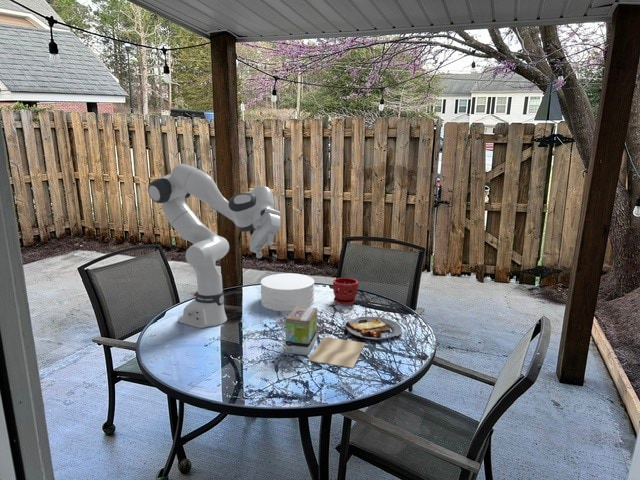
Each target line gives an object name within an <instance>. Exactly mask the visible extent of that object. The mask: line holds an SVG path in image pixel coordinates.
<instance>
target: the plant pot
mask: <svg viewBox="0 0 640 480" xmlns="http://www.w3.org/2000/svg"><path fill="white" fill-rule="evenodd" d="M332 286H333V287H332V291H333V295H334V298H333V301H334V303H336V304H338V305H341V306H351V305H354V303H356V301H357V299H356V297H357V294H358V290H359V281H358V280H357V279H355V278H351V277H350V278H349V277H338V278H335V279H333V281H332Z"/></svg>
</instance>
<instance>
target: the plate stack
mask: <svg viewBox="0 0 640 480" xmlns="http://www.w3.org/2000/svg"><path fill="white" fill-rule="evenodd" d="M260 303H261V305H262V307H263V308H266V309H269V310H271V311H276V312H277V311H278V312H291V311H292V310H293V309H294V307H295V306H300V307H310V308H311V307H312V306H313V305H314V304H315V280H314V278H313V277H311V276H308V275H305V274H300V273H288V272H287V273H284V272H283V273H277V274H270V275H268V276H265V277H263V278H262V279H261V280H260Z"/></svg>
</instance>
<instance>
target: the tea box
mask: <svg viewBox="0 0 640 480" xmlns="http://www.w3.org/2000/svg"><path fill="white" fill-rule="evenodd" d="M317 324H318V308H316V307H311V306H310V307H300V306H295V307H294V309H293V310H292V311H290V313H289V314H288V315H287V317H285V339H284V341H285V349H284V351H285V352H284V353H287V354H292V355H295V354H296V355H303V356H309V354H310V352H311V351H312V348H313V347H314V345H315V343H316V341H317V335H318V334H317V333H318V332H317V330H318V329H317V327H318V326H317Z"/></svg>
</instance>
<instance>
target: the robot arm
mask: <svg viewBox="0 0 640 480" xmlns="http://www.w3.org/2000/svg"><path fill="white" fill-rule="evenodd" d="M147 193H148V195H149V197H150V199H151V200H152V201H153V202H155V203H157V204H161V210H162V212H163V214H164V216H165V217H166V219H167V221H168V222H169V223H170V225H171V226H172V227H173V229H174V230H175V231H176V232H177V234H178V235H179V236H180V238H182V240H185V241H188V242H190V243H191V244H192V245H191V246H189V247H188V248H187V250H186V251H185V261H186V262H187V264H188V265H190V266H191V267H192V268H193V270H194V272H195V276H196V281H197V282H196V283H197V284H196V285H197V291H196V292H195V293H193V294H192V295H193V296H192V297H193V298H194V299H193V300H191V301H190V303H188V304H186V305H185V307H184V308H183V312H182V315H180V316H179V318H178V319H177V320H178V323H182V324H185V325H189V326H192V327H196V328H198V329H203V328H208V327H209V328H210V327H215V326H219V325H223V324H224V323H226V322H227V320H228V318H227V313H226V311H225V306H224V305H225V304H224V301H225V298H224V297H225V295H224V290H223V276H222V273H220V271H218V269H217V266H216V262H217V261H219V260H222V259H223V258H224V257H225V256H226V255H227V254H228V252H229V251H230V243H229V241H228V240H227V239H226V238H225V237H223V236H220V235H219V234H216V233H215V232H213V231H212V230H210V229H209V228H208V227H207V226H206V225H205V224H204V223H203V222H202V221H201V220H200V219H199V218H198V217H197V215H196V214H195V213H194V211H192V209H191V208H190V206H189V205H188V204H187V203H186V199H187V198H190V196H193V197H194V198H196V199H198V200H200V201H201V202H203V203H204V204H206V205H207V206H209V207H210V208H212V209H213V210H215V211H216V212H217V213H219V214H221V215H222V216H224V217H225V218H227V219H228V220H229V221H231V222H232V223H233V224H234V226H235V228H236V229H238V231H241V232H251V231H252V230H254V229H255V230H254V231H253V232H252V234H251V236H250V240H249V251H250V252H251V253H254V254H256V258H257V259H261V258H262V257H263V252H262V249H263V248H264V247H265V246H266V244H267V246H268V247H270V248H271V247H272V246H273V245H274V240H275V235H276V234H277V233H278V231H279V230H280V228H281V215H282V214H281V211H279V210H276V209H275V198H274V194H273V191H272V190H271V188H269V187H268V186H265V185H256V186H255V187H254V188H252V189H251V190H249V191H247V192H239V193H236V194H234V195H233V196H231V197H230V199H229V200H228V199H226V198H225V197H224V196H223V195H222V192H221V191H220V190H219V188H218V186H217V183H216V182H215V180H214V178H212V177H211V176H210V175H209V174H208V173H206V172H205V171H203V170H202V169H200V168H197V167H194V166H192V165H189V164H186V163H179V164H176V165H175V166H174V167H173V168H172V169H171V173H168V174H166V175H164V176H162V177H159V178H156V179H154V180H152V181H151V182H150V183H149V184H148V187H147Z"/></svg>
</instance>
